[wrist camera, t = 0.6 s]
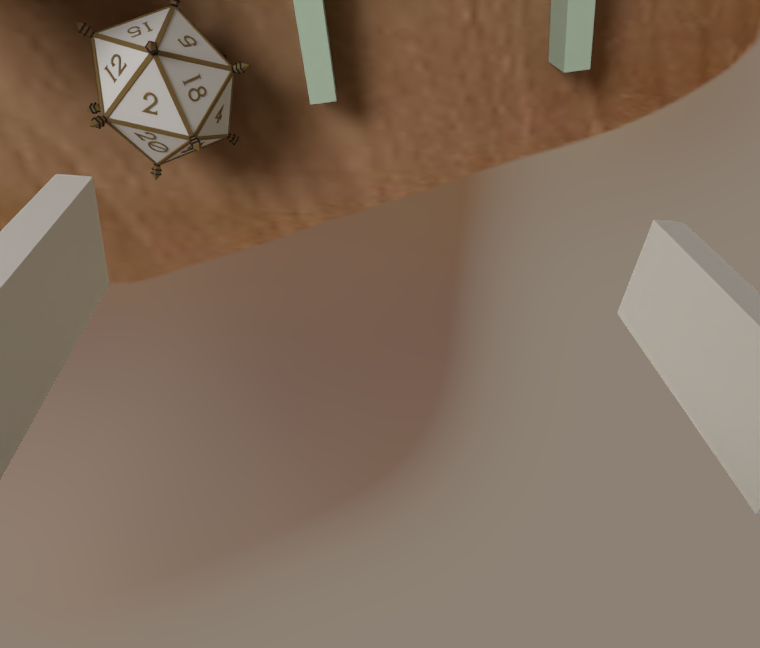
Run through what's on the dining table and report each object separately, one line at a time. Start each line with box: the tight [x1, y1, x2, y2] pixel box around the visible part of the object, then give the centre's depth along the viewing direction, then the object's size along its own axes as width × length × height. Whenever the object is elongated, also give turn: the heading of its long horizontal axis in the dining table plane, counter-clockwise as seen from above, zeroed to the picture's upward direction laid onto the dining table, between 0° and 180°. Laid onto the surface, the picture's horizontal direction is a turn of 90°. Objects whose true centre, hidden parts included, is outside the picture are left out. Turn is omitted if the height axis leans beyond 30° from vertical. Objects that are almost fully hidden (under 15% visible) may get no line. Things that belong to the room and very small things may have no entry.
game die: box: [75, 0, 249, 180], centre depth 34 cm, size 9×8×10 cm
